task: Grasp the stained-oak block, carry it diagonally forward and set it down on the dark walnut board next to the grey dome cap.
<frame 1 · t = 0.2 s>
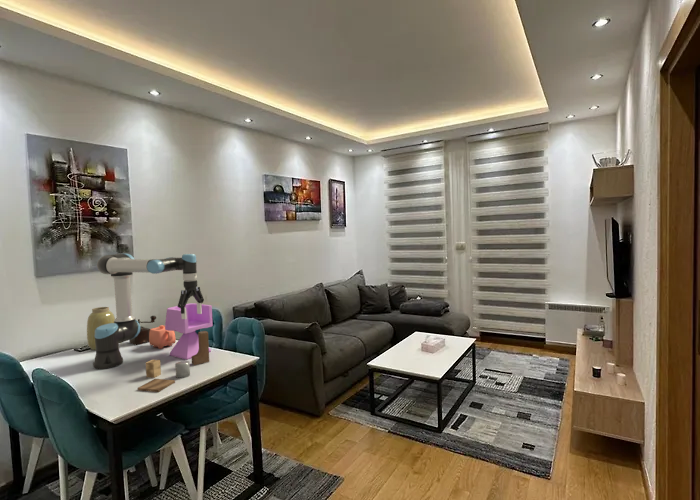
hand: (191, 316, 231), 28 cm above the table, fingers open, 13 cm apart
chair: (190, 353, 250), on the table
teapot: (162, 346, 268), on the table
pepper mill: (144, 341, 280), on the table
grey dome cap: (182, 375, 212), on the table
oak block: (153, 375, 213), on the table
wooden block: (200, 363, 232), on the table
walnut board: (156, 386, 199), on the table
vase: (103, 347, 268), on the table
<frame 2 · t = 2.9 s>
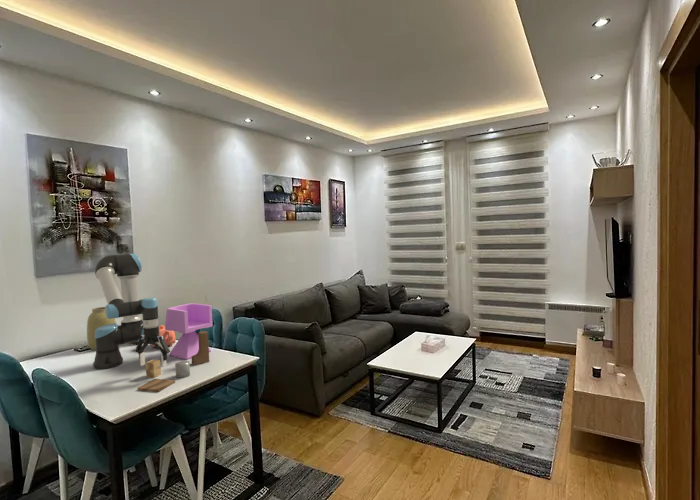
hand: (153, 365, 213), 6 cm above the table, fingers open, 13 cm apart
nothing on the table moved.
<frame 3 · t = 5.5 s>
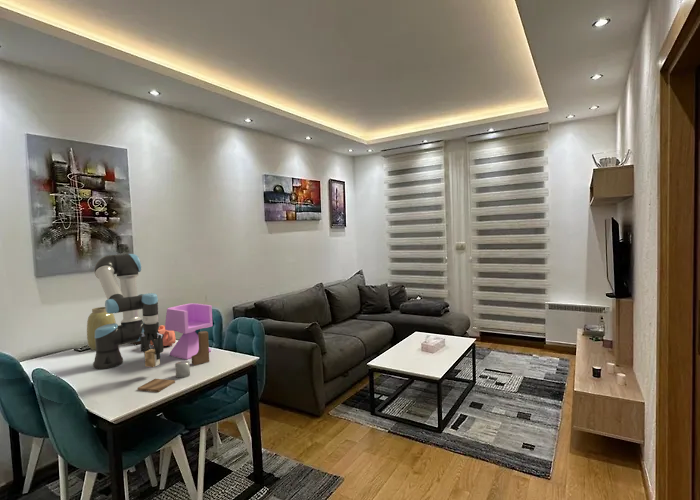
hand: (152, 364, 213), 6 cm above the table, fingers closed on oak block, 5 cm apart
oak block: (152, 365, 213), point 6 cm above the table, touching gripper
everything else where it was.
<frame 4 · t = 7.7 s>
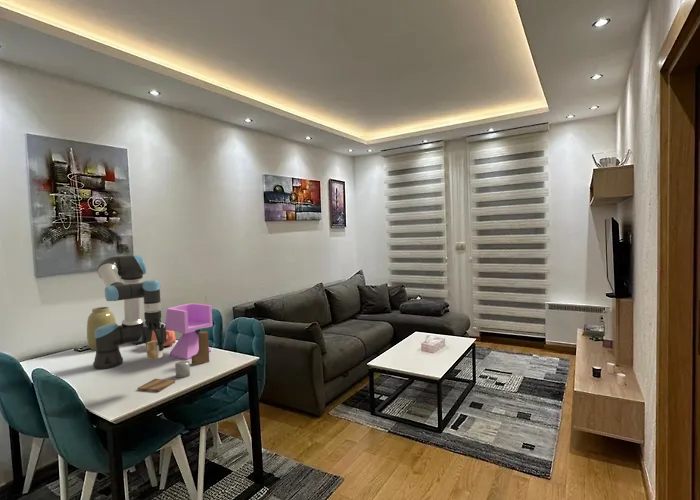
hand: (155, 356, 198), 15 cm above the table, fingers closed on oak block, 5 cm apart
oak block: (155, 357, 198), point 15 cm above the table, touching gripper
everything else where it was.
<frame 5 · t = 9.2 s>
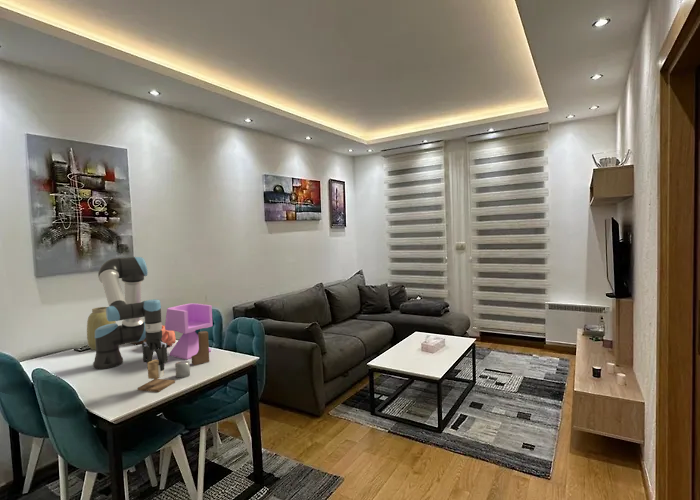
hand: (156, 376, 198), 5 cm above the table, fingers closed on oak block, 5 cm apart
oak block: (156, 376, 198), point 5 cm above the table, touching gripper
everything else where it was.
when the fingers open (1 cm above the table, at t = 10.1 s): oak block stays where it is, resting on walnut board.
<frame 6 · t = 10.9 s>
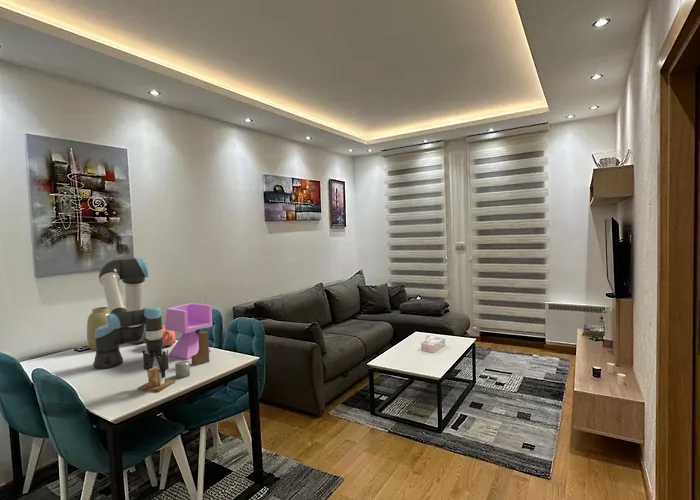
hand: (157, 383, 199), 2 cm above the table, fingers open, 5 cm apart
oak block: (156, 384, 199), point 1 cm above the table, touching gripper, walnut board
everything else where it was.
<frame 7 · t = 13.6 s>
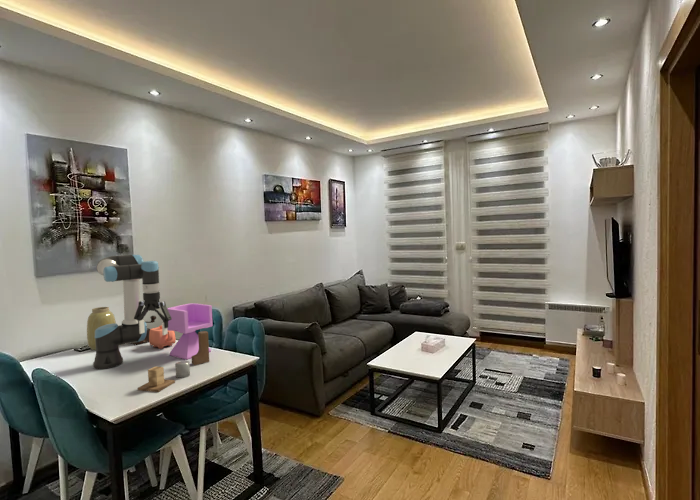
hand: (153, 333, 198), 27 cm above the table, fingers open, 13 cm apart
oak block: (156, 384, 199), point 1 cm above the table, touching walnut board
everything else where it was.
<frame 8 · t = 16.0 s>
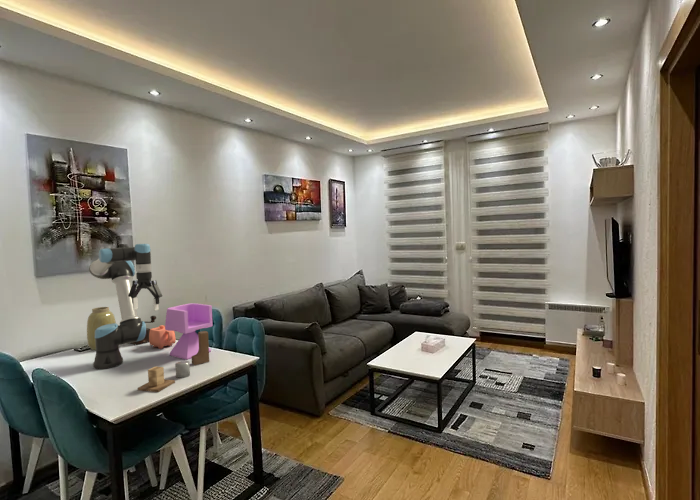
hand: (146, 309, 219), 35 cm above the table, fingers open, 13 cm apart
nothing on the table moved.
at the end: oak block inside the target area on the walnut board (0.1 cm from its centre), point 1.2 cm above the walnut board's base; oak block tilted 0°; the gripper is holding nothing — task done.
